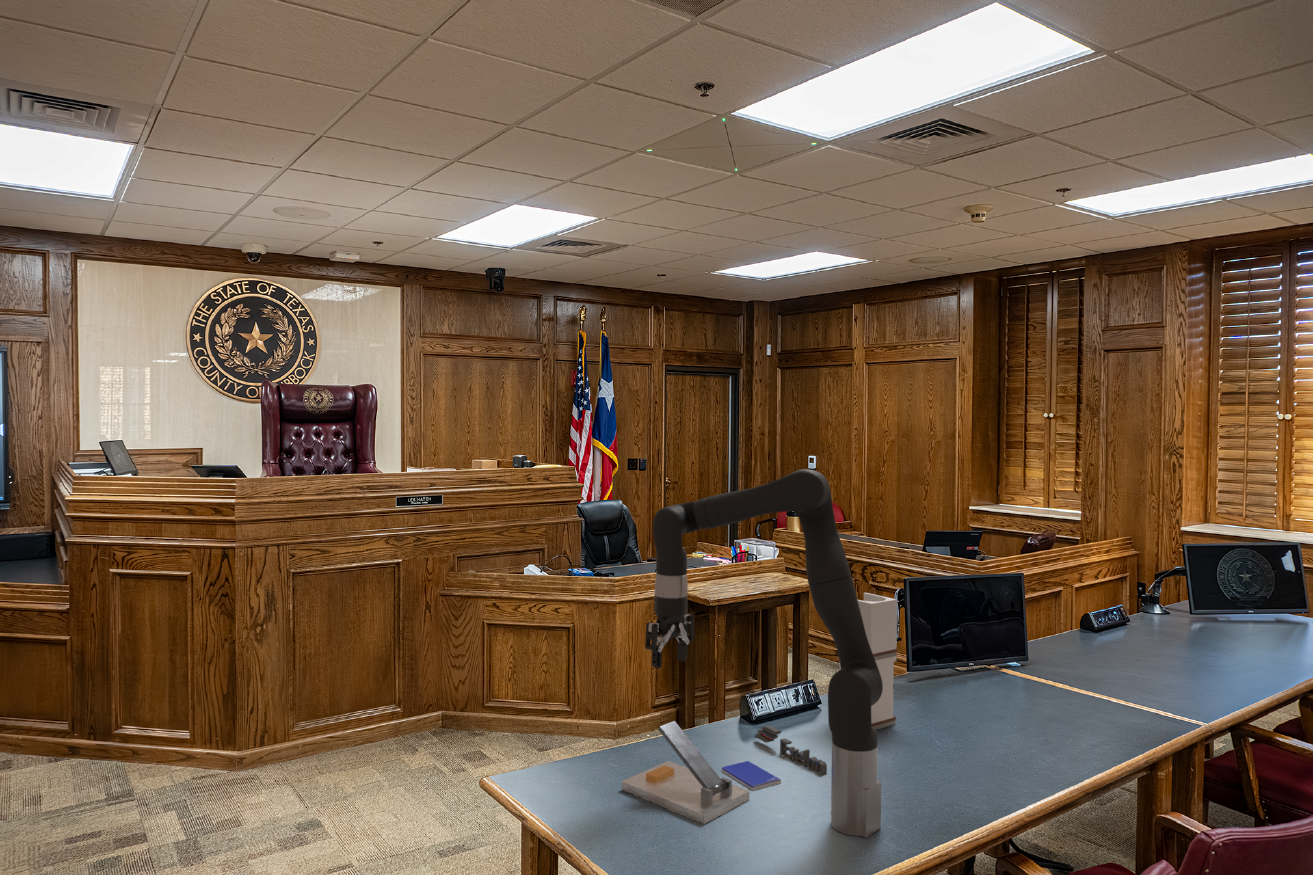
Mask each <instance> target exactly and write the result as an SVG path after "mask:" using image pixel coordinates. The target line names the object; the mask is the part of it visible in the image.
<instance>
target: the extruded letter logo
mask: <svg viewBox="0 0 1313 875" xmlns="http://www.w3.org/2000/svg"><path fill="white" fill-rule="evenodd" d="M782 731H783V730H779V729H777V728H775V727H774V726H771V725H768V726H763V727H761V729H759V730H758V731H757V734H755V736H754V738H755V739H756V738H757V739H759V740H760V741H762V742H764V743H771V742H775V739H778V737H779V736H780V734H781V733H782ZM779 742H780V743H779V755H780V756H782V755H783V756H782V757H784V758H787V759H788V760H792V762H795V763H796V764H798V765H801V766H802V765H803V767H804V768H807V769H809V770H810V771H814V772H815V773H817V774H818V773H820V775H821V776H825V775H828V774H827V773H828V772H827V771H828V766H827V763H826V761H824V760H822V759H818V758H817V757H816V756H810V754H811V752H810V751H811V750H810V749H808V748H807V749H803V750H801V751H800V748H795V747H794V746H788V745H791V744H792V742H793V741H791V740H790V739H787V738H786V737H784V738H781V739H780V741H779ZM787 751H789V753H788V752H787Z"/></svg>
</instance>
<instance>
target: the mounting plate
mask: <svg viewBox="0 0 1313 875" xmlns="http://www.w3.org/2000/svg"><path fill="white" fill-rule="evenodd" d="M720 779H721V780H722V781H724V782H725V783H726V785H727V789H726V790H724V791H722V792H720V793H718V794H716V795H714V796H713V790H710V789H708V788H705V787H702V785H701V784H700V783H699V782H698V780H697V779H696V778H695V776H694V775H693V774H692V773H691V771H690V770H689V769H688V767H687V766H684V765H680V764H678V763H675V762H672V761H671V760H667V761H665V762H662V763H661V764H658V765H656V766H654V767H652V768H649V769H647V770H644V771H642V772H640V773H638V774H635V775H633V776H631V777H628V778H627V779H625V780H622V781H621V791H623V790H624V791H623V792H625V791H626V792H625V793H628V792H629V793H628V794H630V793H632V794H634V795H633V796H635V795H636V796H635V797H637V796H638V797H637V798H639V797H641V798H640V799H642V800H644V799H646V800H645V801H647V802H649V801H651V802H652V803H651V802H650V803H651V804H654V803H656V804H657V805H656V804H655V805H656V806H658V805H660V806H659V807H661V806H662V807H661V808H663V807H665V808H667V809H666V810H668V809H670V810H672V811H671V812H673V811H674V812H673V813H675V812H676V813H675V814H677V813H678V815H680V814H682V815H683V816H682V815H681V816H682V817H684V816H686V817H685V818H687V817H688V818H687V819H689V818H690V820H692V821H694V820H695V821H694V822H696V821H697V822H696V823H699V822H700V823H699V824H701V825H706V824H708V823H709V821H710V822H712V821H713V820H715V819H717V818H718V816H719V817H720V816H722V815H724V814H726V813H728V812H730V811H732V810H733V809H735V808H738V807H739V806H741V805H743V804H745V803H746V802H748V801H750V789H749V790H748V789H746V788H744V787H740V786H738V785H735V784H733V781H732V780H731V779H729V778H726V777H722V778H720ZM632 794H631V795H632ZM665 808H664V809H665ZM670 810H669V811H670ZM711 820H712V821H711ZM707 822H708V823H707Z"/></svg>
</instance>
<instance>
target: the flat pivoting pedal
mask: <svg viewBox="0 0 1313 875" xmlns="http://www.w3.org/2000/svg"><path fill="white" fill-rule="evenodd" d="M657 730H658V731H659V733H661V735H662V736H663V737H664V739H665V740H666V741H667V743H668V745H670V747H671V748H672V749H673V751H674V752H675V753H676V754H677V755H678V757H679V758H680V760H681V761H682V763H684V765H685V767H687V768H688V769H689V770H690V771H691V773H692V774H693V775H694V776H695V778H696V779H697V780H698V782H699V783H700V784H701V785H702V787H705V788H708V789H710V790H713V796H714V795H716V794H718V793H720V792H722V791H724V790H726V789H727V785H726V783H725V782H724V781H722V780H721V778H720V776H719V775H718V774H717V773H716V771H715V770H714V768H712V766H711V765H710V763H709V762H708V761H707V760H706V759H705V757H704V756H703V754H702V753H700V751H699V750H698V748H697V747H696V746H695V745H694V743H693V742H692V741H691V739H690V738H689V737H688V736H687V735H686V733H685V732H684V731H683V730H682V728H681V727H680V726H679V725H678V723H677V722H676V721H675V720H673V721H671V722H668V723H666V724H662V725H660V726H658V728H657Z"/></svg>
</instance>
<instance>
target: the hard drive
mask: <svg viewBox="0 0 1313 875" xmlns="http://www.w3.org/2000/svg"><path fill="white" fill-rule="evenodd" d="M721 772H722V773H724V774H725V775H727V776H729V777H730V778H732V779H733V780H735V781H736V782H738V781H739V782H738V783H740V784H742V785H743V786H745V787H746V786H747V787H746V788H748V789H749V788H750V789H749V790H750V791H753V790H754V791H758V790H761V789H764V788H768V786H769V787H772V786H775V785H780V784H781V783H782V779H780V778H779V777H777V776H775V775H774V774H772V773H770V772H769V771H767V770H765V769H764V768H761V767H760V766H758V765H757V764H754V763H752V762H750V761H749V760H746V761H742V762H737V763H734V764H730V765H725V766H723V767H721Z"/></svg>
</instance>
